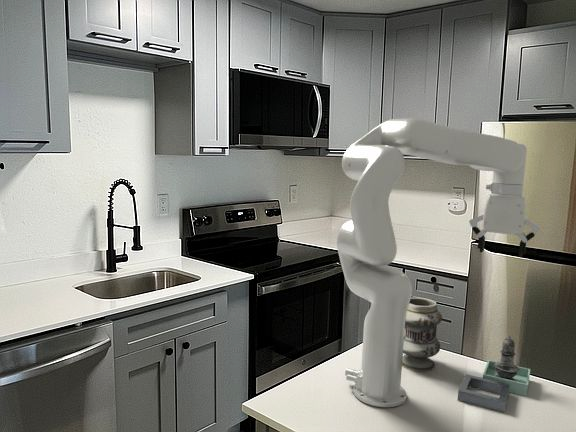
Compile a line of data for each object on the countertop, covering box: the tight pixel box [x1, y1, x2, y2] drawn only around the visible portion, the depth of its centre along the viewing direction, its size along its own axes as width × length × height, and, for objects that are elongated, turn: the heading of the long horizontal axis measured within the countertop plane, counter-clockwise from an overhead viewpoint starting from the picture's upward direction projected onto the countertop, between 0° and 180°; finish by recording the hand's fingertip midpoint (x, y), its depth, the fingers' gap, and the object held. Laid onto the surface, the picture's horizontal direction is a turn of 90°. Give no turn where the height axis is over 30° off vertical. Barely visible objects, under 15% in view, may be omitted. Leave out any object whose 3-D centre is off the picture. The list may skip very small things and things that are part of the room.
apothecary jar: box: [402, 297, 443, 372], centre depth 137 cm, size 12×12×18 cm
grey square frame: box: [457, 373, 510, 413], centre depth 121 cm, size 10×10×2 cm
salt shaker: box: [494, 335, 519, 381], centre depth 128 cm, size 6×6×12 cm
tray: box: [482, 359, 531, 397], centre depth 129 cm, size 10×10×3 cm
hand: (500, 253), depth 133 cm, fingers open, 9 cm apart
